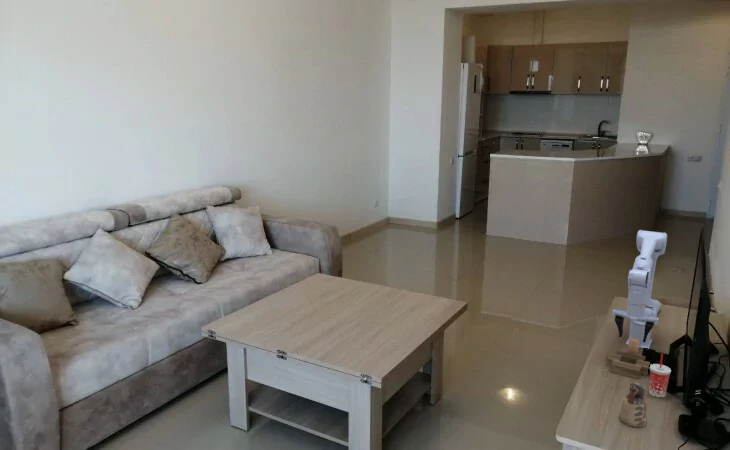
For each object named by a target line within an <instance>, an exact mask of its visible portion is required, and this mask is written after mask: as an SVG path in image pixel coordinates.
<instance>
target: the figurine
mask: <svg viewBox="0 0 730 450" xmlns="http://www.w3.org/2000/svg"><path fill="white" fill-rule="evenodd" d="M629 385H630V386H629V393H628V394H626V395H625V396H624V397H623V399H622V402H621V407H620V410H619V419H620V421H621V422H622V423H624V424H625V425H627V426H630V427H633V428H642V427H645V426H647V425H646V424H647V405H646V402H645V401H644V400H646V399H647V397H646V396H645V391H646V388H645V387H643V386H642V385H641V384H640V383H639V382H633V383H630V384H629Z"/></svg>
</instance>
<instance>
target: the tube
mask: <svg viewBox="0 0 730 450" xmlns="http://www.w3.org/2000/svg"><path fill="white" fill-rule="evenodd" d="M653 300H654V301H655V302H656V303H657V305H658V307H657V314H658V313H659V312H660V310H662V303H661V302H660V301H659V300H657V299H653ZM647 306H648V307H652V306H650V305H647Z"/></svg>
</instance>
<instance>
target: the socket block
mask: <svg viewBox="0 0 730 450" xmlns="http://www.w3.org/2000/svg"><path fill="white" fill-rule="evenodd" d="M644 360H645V361H644ZM649 365H651V362H650V361H647V360H646V356H645V355H641V354H638V355H637V354H633V353H628V351H622V350H619V349H618V350H617V352H616V353H611V352H610V353H609V354H608V355H607V359H606V367H609V368H610V371H609V372H610V373H613V374H616V375H617V374H618V375H621V376H625V377H629V378H634V379H636V380H637V379H638V380H639V379H640V377H641V375H642V374H643V375H642V376H646V375H647V376H648V374H649V372H648V369H649V370H650V367H649Z"/></svg>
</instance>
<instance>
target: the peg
mask: <svg viewBox="0 0 730 450" xmlns="http://www.w3.org/2000/svg"><path fill="white" fill-rule="evenodd" d="M639 342H640V341H639V340H638V339H635V338H630V339H629V343H628V345H627V352H628V353H633V354H637V355H639V349H640V347H639Z"/></svg>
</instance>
